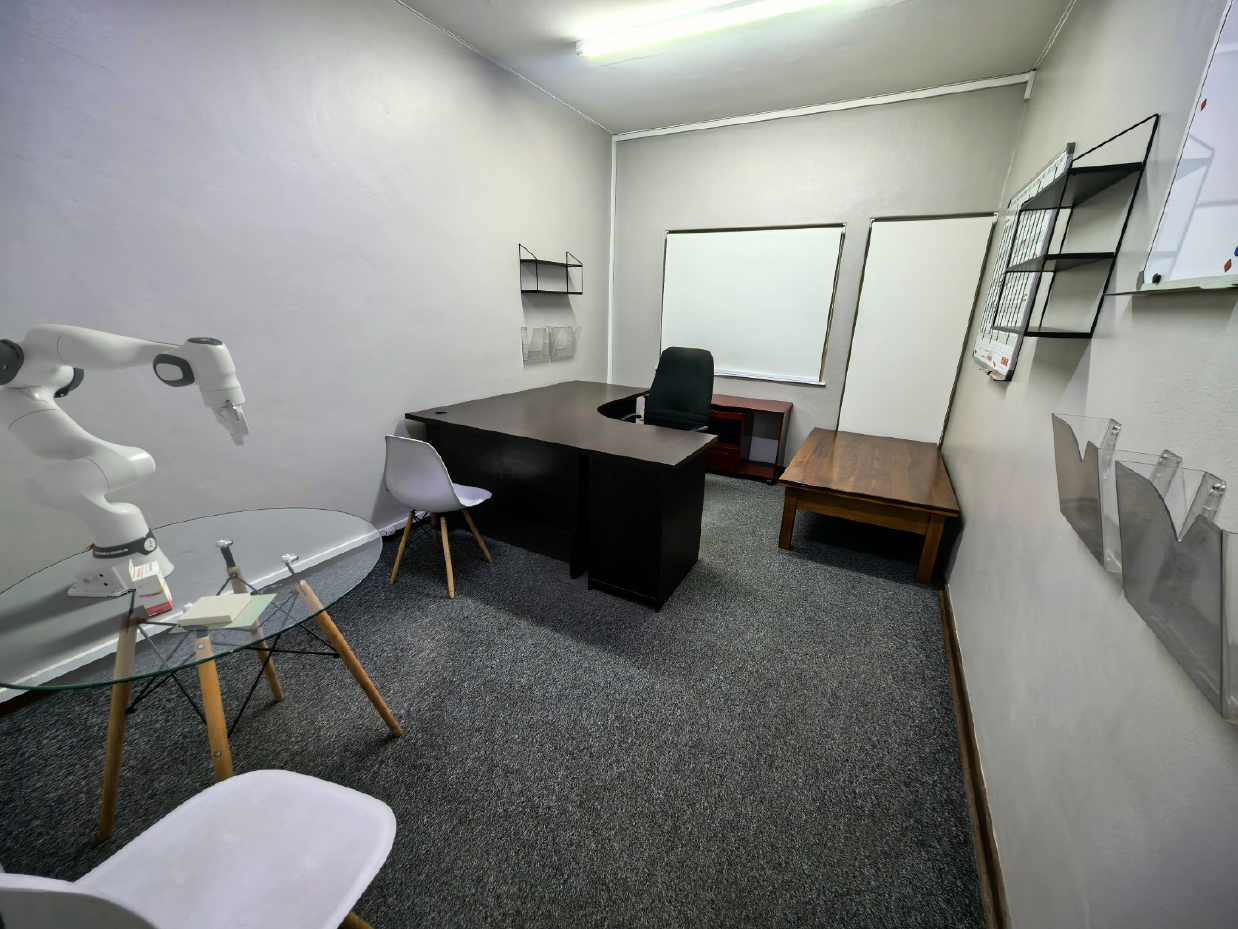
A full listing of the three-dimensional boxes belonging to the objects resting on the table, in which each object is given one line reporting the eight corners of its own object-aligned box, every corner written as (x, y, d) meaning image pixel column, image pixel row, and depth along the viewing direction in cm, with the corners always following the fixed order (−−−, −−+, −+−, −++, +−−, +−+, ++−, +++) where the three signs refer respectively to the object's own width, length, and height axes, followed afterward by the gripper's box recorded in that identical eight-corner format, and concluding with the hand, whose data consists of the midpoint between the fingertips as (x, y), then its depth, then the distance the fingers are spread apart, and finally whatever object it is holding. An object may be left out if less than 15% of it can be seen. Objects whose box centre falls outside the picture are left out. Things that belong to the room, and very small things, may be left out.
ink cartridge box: (174, 609, 124) (153, 564, 118) (148, 618, 121) (126, 572, 115) (172, 594, 129) (152, 551, 124) (148, 602, 126) (127, 558, 121)
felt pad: (168, 634, 115) (168, 633, 115) (203, 601, 127) (202, 599, 127) (251, 626, 118) (250, 625, 118) (277, 594, 130) (277, 593, 130)
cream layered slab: (232, 622, 119) (180, 627, 117) (252, 599, 127) (204, 604, 125) (229, 615, 118) (177, 619, 116) (249, 593, 126) (201, 597, 124)
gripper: (247, 402, 123) (262, 449, 128) (229, 389, 135) (243, 433, 140) (218, 406, 118) (234, 455, 123) (201, 393, 130) (217, 438, 136)
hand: (239, 444), depth 132 cm, fingers closed
